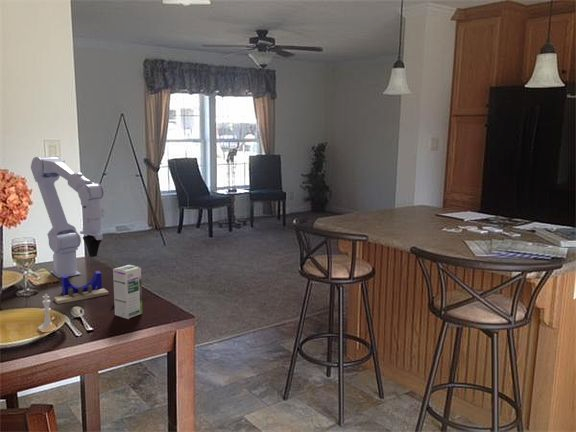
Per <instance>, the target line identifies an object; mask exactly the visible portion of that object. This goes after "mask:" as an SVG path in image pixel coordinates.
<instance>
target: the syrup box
mask: <svg viewBox="0 0 576 432" xmlns="http://www.w3.org/2000/svg"><path fill="white" fill-rule="evenodd" d="M112 275H113V276H112V278H113V297H114V302H113V303H114V315H115V316H117V317H120V318H123V319H126V320H130V319H131V318H134V317H137V316H138V315H142V314H143V292H142V290H143V288H142V285H143V284H142V267H140V266H137V265H133V264H126V265H122V266H119V267H115V268H113V269H112Z"/></svg>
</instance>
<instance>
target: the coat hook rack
mask: <svg viewBox="0 0 576 432" xmlns="http://www.w3.org/2000/svg"><path fill="white" fill-rule="evenodd" d="M109 294H110V293H109V291H108V290H107V289H106V288H102V289H98V290H92V285H88V286H87V292H83V287H78V293H75V294H73V289H72V288H70V289H68V295H64V294H63V295H60V296H54V297H53V301H54V302H55V303H56V304H57V305H59V304H64V303H70V302H75V301H79V300H80V301H81V300H85V299H92V298H96V297H98V298H99V297H102V296H103V297H104V296H107V295H109Z"/></svg>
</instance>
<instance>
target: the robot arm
mask: <svg viewBox="0 0 576 432" xmlns="http://www.w3.org/2000/svg"><path fill="white" fill-rule="evenodd" d="M30 170H31V172H32V176H33V179H34V181H35V183H36V184H37V185H38V189H39V192H40V194H41V197H42V200H43V203H44V207H45V209H46V212H47V215H48V218H49V221H50V224H51V226H52V228H51V229H50V230H49V231H48V233H47V238H48V246H49V248H50V250H52V252H53V256H52V260H53V261H52V263H53V265H52V266H53V270H51V271H50V272H51V274H53V275H54V276H55V277H56V278H58V279H62V276H63V275H67V276H68V277H73V276H81V274H82V273H81V272H79V271H78V270H77V269H78V268H77V267H78V266H77V250H78V249H79V247H80V246H81V243H82V240H83V241H84V244H85V245H86V248H87V252H88V256H89V258H94V257H97V256H98V252H99V247H100V244H101V242H102V240H103V239H104V237H103V236H104V235H103V233H102V223H101V221H102V220H101V199H102V198H103V197H104V189H103V186H102V185H101V184H100V183H99V182H92V181H91V180H90V179H88V178H86V176H85V175H84V174H83V173H82V172H74V171H73V170H72V169H71V168H70V167H69V166H68V165H67V164H66V162H65V160H64V158H62V157H61V156H59V155H56V156H41V157H40V156H34V157H33V158H32V160H31V164H30ZM60 177H61V178H63V179H65V181H67V185H68V186H69V187H70V188H71V189H72V190H74V191H75V192H76V193H77V195H78V198H79V200H80V205H81V206H82V225H83V226H82V230H81V231H79V232H78V231H77V229H76V226H74V225H72V224H70V223H68V220H67V218H66V215H65V212H64V209H63V206H62V203H61V199H60V197H59V195H58V191H57V189H56V186H55V182H57V181H58V180H59V179H60ZM81 235H83V236H82V238H81ZM84 235H85V236H84Z"/></svg>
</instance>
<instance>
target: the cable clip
mask: <svg viewBox="0 0 576 432" xmlns="http://www.w3.org/2000/svg"><path fill="white" fill-rule="evenodd" d="M102 281H103V279H102V272H101V271H100V270H96V271H94V272H93V277H92V279H91V280H90V281H89V282H88V283H87V284H84V285H80V286H79V285H74V284H72V283H71V282H70V280H69V276H67V275H63V276H62V278H61V290H62V291H61V292H62V293H61V294H63V296H64V295H68V289H70V288H72V289H73V294H75V293H78V287H83V292H87V286H88V285H92V290H98V289H103V286H102V285H103V283H102Z"/></svg>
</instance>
